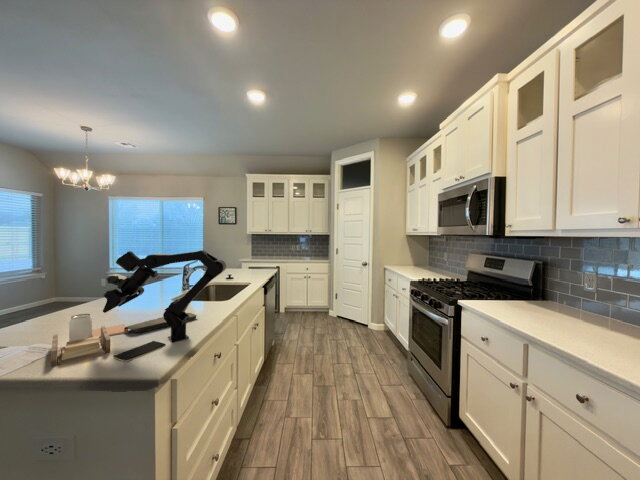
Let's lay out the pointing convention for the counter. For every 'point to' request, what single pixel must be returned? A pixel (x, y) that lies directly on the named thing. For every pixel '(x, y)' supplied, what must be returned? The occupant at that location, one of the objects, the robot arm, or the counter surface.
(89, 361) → the counter surface
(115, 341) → the counter surface
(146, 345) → the smartphone
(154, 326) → the stone slab
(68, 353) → the rack
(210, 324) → the counter surface
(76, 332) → the can
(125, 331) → the tile
